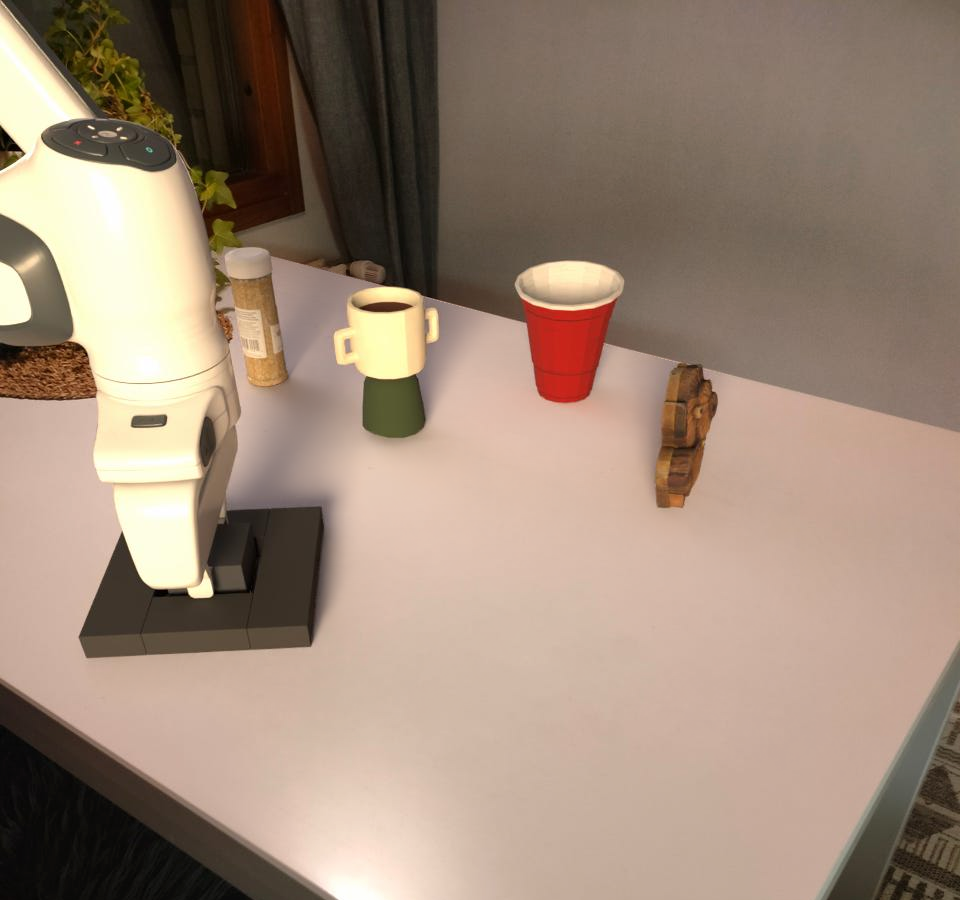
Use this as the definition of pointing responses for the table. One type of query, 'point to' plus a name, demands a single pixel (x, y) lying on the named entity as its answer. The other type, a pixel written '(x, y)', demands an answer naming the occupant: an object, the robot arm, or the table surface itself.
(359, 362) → the character mug
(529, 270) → the plastic cup
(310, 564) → the base pad
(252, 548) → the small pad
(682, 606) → the table surface
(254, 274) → the sprinkles bottle
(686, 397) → the wooden carving
